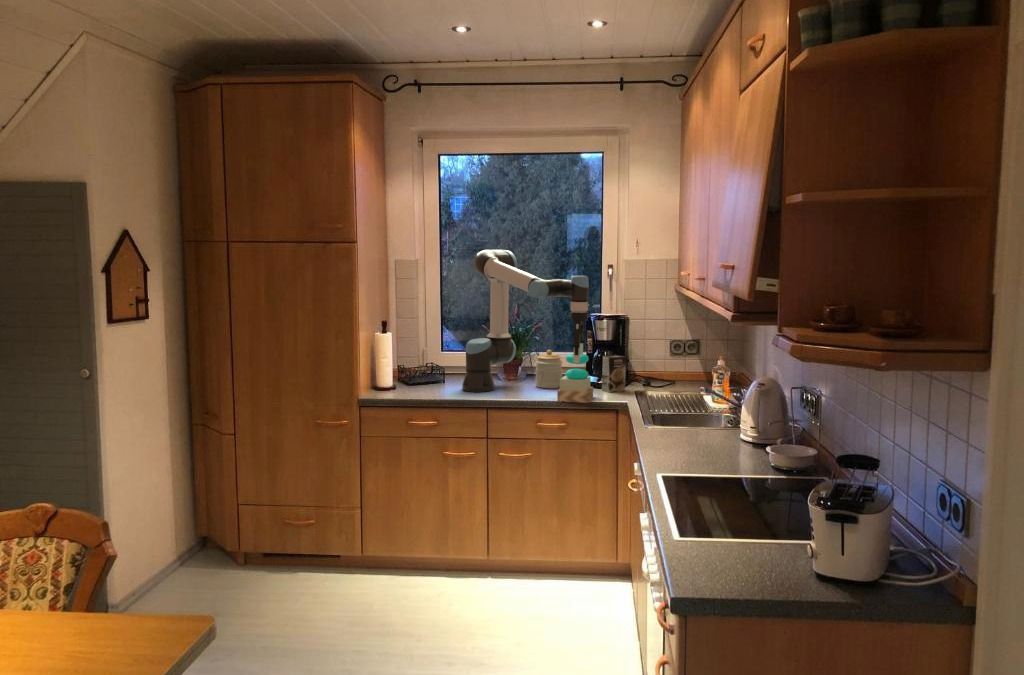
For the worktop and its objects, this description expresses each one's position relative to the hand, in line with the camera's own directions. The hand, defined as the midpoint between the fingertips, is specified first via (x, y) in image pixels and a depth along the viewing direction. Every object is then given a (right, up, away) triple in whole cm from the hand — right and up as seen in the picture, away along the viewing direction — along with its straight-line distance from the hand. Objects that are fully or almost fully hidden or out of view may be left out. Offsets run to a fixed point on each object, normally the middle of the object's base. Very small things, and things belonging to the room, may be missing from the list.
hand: (578, 360), depth 335 cm
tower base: (-1, -18, +3) cm, 18 cm away
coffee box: (+18, -15, +23) cm, 33 cm away
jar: (-11, -14, +33) cm, 38 cm away
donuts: (0, -8, +1) cm, 8 cm away
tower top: (-1, -13, +2) cm, 13 cm away
